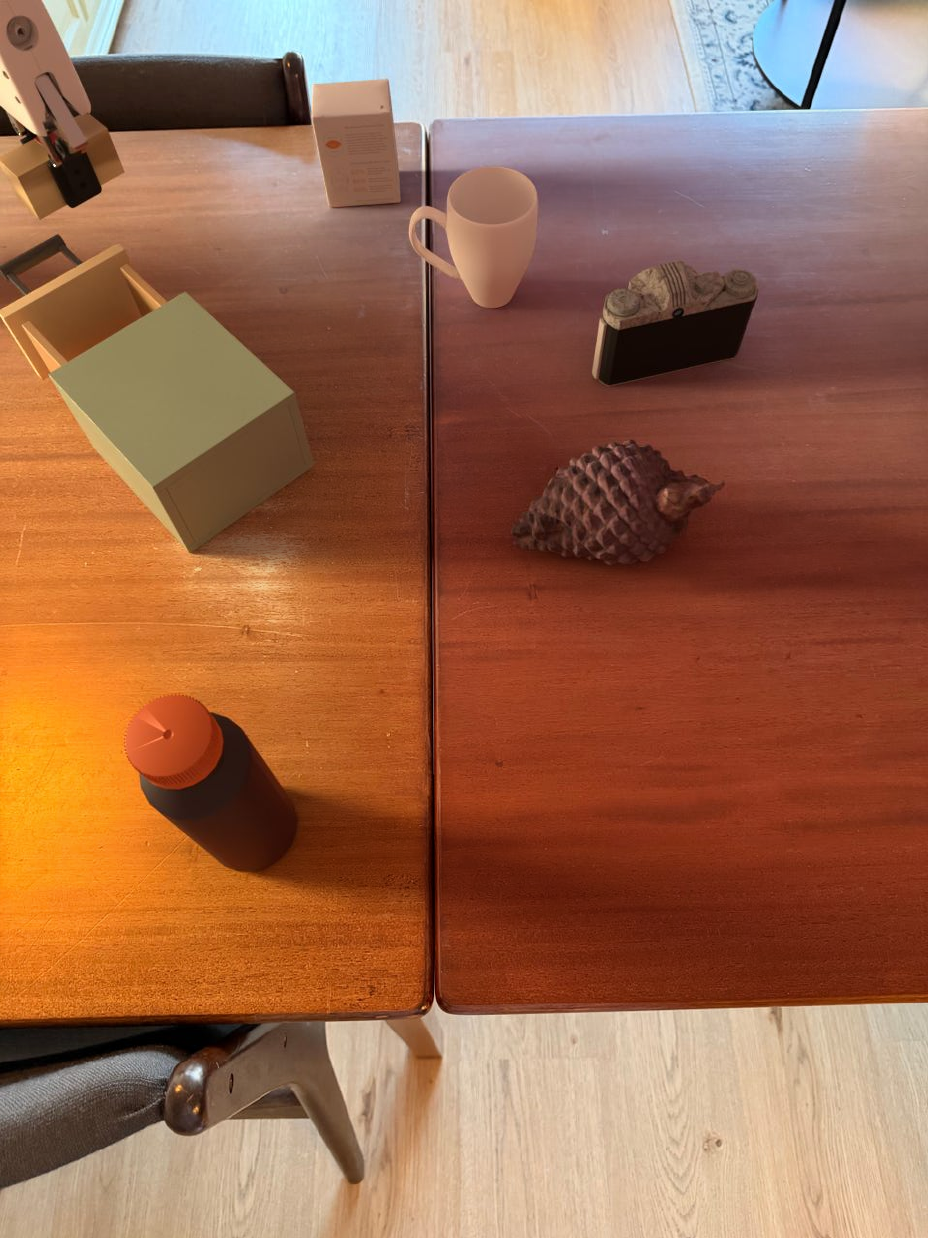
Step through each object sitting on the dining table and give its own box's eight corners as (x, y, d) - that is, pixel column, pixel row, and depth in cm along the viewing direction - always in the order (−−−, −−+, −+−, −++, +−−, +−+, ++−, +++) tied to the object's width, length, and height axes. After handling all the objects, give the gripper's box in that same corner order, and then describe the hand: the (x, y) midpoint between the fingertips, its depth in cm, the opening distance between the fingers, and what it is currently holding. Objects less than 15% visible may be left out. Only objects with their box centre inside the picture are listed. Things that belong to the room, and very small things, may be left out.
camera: (717, 308, 90) (742, 223, 81) (744, 358, 87) (773, 275, 78) (576, 339, 88) (586, 256, 80) (598, 391, 85) (611, 310, 77)
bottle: (195, 864, 66) (87, 783, 48) (223, 776, 69) (131, 669, 51) (284, 881, 65) (208, 805, 47) (309, 791, 68) (245, 688, 50)
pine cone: (527, 611, 75) (492, 507, 70) (525, 552, 83) (494, 455, 78) (743, 559, 71) (724, 445, 66) (719, 502, 79) (700, 397, 74)
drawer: (-1, 333, 89) (-42, 269, 82) (108, 270, 93) (77, 204, 86) (118, 463, 82) (83, 404, 75) (231, 389, 85) (208, 326, 78)
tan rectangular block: (19, 202, 76) (-5, 157, 72) (104, 155, 78) (85, 109, 74) (40, 221, 74) (17, 176, 71) (125, 173, 77) (107, 127, 73)
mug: (531, 263, 93) (536, 163, 83) (534, 322, 90) (539, 225, 80) (416, 265, 94) (407, 166, 84) (413, 324, 90) (403, 227, 80)
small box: (399, 170, 101) (390, 76, 91) (401, 204, 98) (392, 111, 89) (327, 174, 101) (311, 81, 91) (327, 208, 98) (310, 116, 89)
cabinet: (93, 447, 84) (47, 373, 75) (215, 369, 88) (185, 290, 79) (189, 553, 78) (152, 487, 70) (315, 465, 82) (294, 391, 74)
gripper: (73, -32, 58) (164, 212, 74) (-52, -122, 64) (58, 123, 80) (-30, 16, 56) (87, 258, 72) (-150, -81, 62) (-16, 163, 78)
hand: (71, 185), depth 76 cm, fingers closed on tan rectangular block, 3 cm apart
